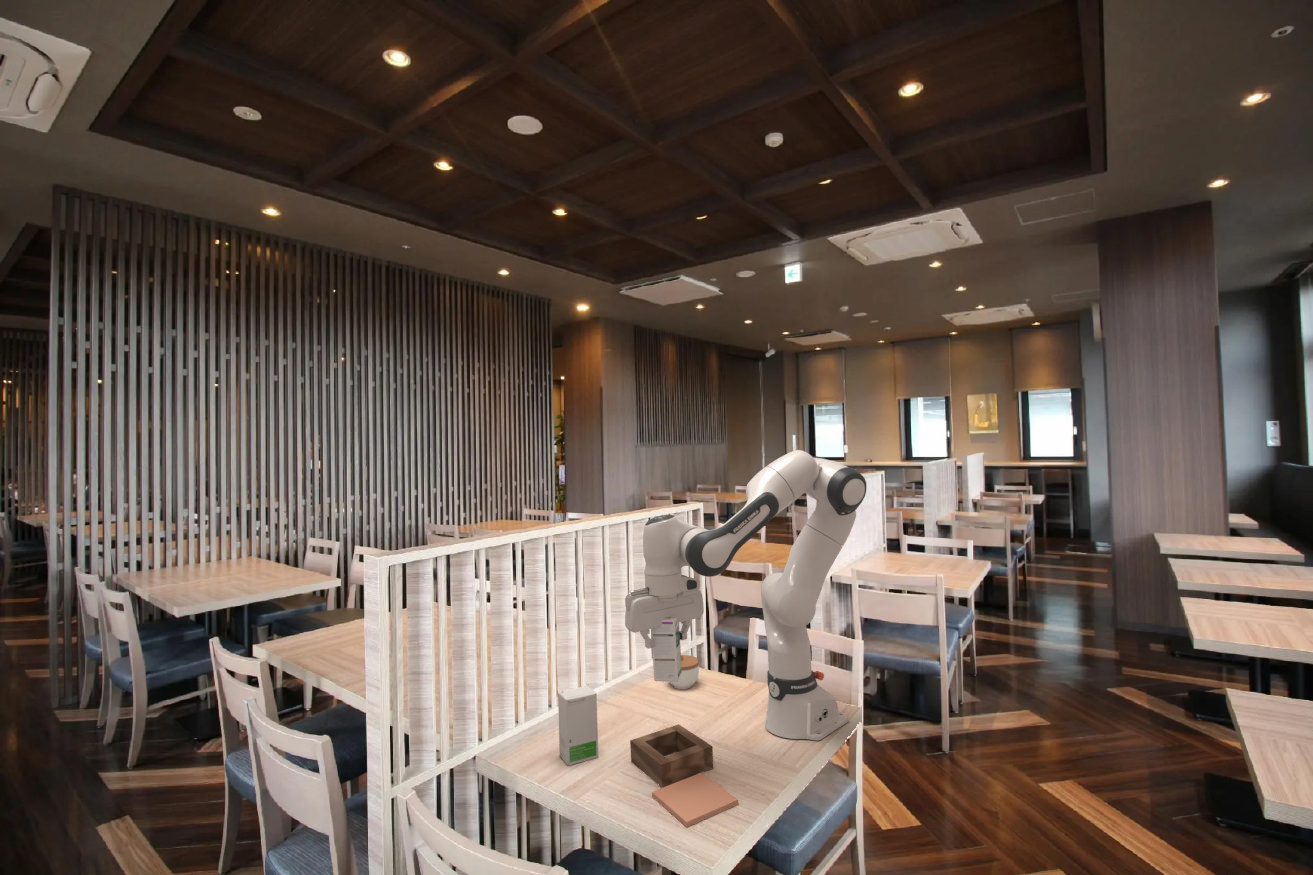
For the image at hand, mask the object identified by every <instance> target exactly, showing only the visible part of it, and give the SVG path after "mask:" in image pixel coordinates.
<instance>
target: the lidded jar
mask: <svg viewBox="0 0 1313 875" xmlns="http://www.w3.org/2000/svg"><path fill="white" fill-rule="evenodd" d="M699 662H700V661H699V659H698V658H697V657H695V656H692V655H688V654H687V655H686V654H685V655H684V654H681V669H682V673H681V675H680V677H679V679H678V682H669V683H670V685H672V686H674V687H673V688H674V689H677V690H689V689H690V688H692V687H693V685H694V684H695V683H696V682H697V680H698V677H699V673H700V672H699V670H700V668H699V667H700V666H699V664H700V663H699Z"/></svg>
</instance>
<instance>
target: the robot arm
mask: <svg viewBox="0 0 1313 875" xmlns="http://www.w3.org/2000/svg"><path fill="white" fill-rule="evenodd" d="M746 484H747V485H746V488H745V496H746V502H745V504H744V506H743V507H742V508H741V509H740V510H739V511H737V512H736V513H735V514H734V515H733V516H731V517H730V518H729V519H728V520H727V521H726V522H725V523H724V524H722V525H721V526H719V527H717V528H715V529H714V528H713V529H707V528H705V527H702V526H697V525H695V524H690V523H689V522H686V521H684V520H682V519H680V518H678V517H677V516H675V515H674V514H664V515H659V516H658V515H657V516H655V517H654V516H653V517H652V518H650V519H649V520H647V522H645V523H644V524H645V525H644V528H643V534H642V536H643V537H642V549H643V550H642V551H643V558H644V562H645V567H644V571H643V572H644V573H643V574H644V575H643V576H644V587H643V588H642V587H641V588H639V589H633V590H630V591H629V592H628V593H627V595H626V596H625V598H624V604H625V615H624V626H625V628H626V629H627V630H628V631H630V632H632V633H639V634H640V635H641V637H642V638H643V640H644V647H645V648H646V649H653V647H654V640H653V639H652V638H650V636H649V634H650V633H651V632H650V630H652V629H653V628H657V627H661V626H662V620H663V618H668V617H676V618H677V623H679V624H680V623H681V629H680V630H679V632H680V641H684V640H687V639H688V631H689V629H690V626H691V624H692V622H691V621H692V620H696V619H701V618H702V616H703V614H704V599H703V593H702V591H701V590H700V588H701V581H700V580H699V579H697V578H694V577H691V576H687V575H685V574H684V575H683V574H682V572H683V571H682V569H683V567H690V568H691V569H692V570H693V571H694V572H695V573H696V574H698V575H699V576H702V577H707V578H709V577H710V578H711V577H715V576H718V575H721V574H722V573H723V572H725V571H726V570H727V569H728V567H729V566H730V564H731V563H732V561H733V559H734V557H735V555H736V554H737V552H738V551H739V550H740V549H741V547H743V546H744V545H745V544H746V543H747V542H749V540H751V538H753V537H754V536H755V535H756V534H757V533H758V532H760V530H762V529H763V528H764V527H765V526H766V525H768V523H770V521H772V519H774V518H775V517H776V516H777V515H778V514H779V513H781V512H782V511H783V510H785V509H786V508H787V507H789V506H790V505H792V504H793V503H794V502H796V500H797V499H799V498H800V497H801V496H803V494H805V495H807V496H809V497H810V498H812V499H814V500H816V501H815V502H816V503H815V508H814V511H813V512H812V513H811V515H810V517H809V518H808V519H807V521H806V523H805V525H804V526H803V528H802V529H801V530H800V533H799V534H798V536H797V538H796V540H794V542H793V544H792V545H791V548H790V549H789V550H790V551H789V555H788V559H787V561H786V564H785V567H784V569H783V572H773V573H770V574H768V575H767V576H766V577H765V578H764V579H763V581H762V582H761V586H760V594H761V604H762V613H763V614H762V615H763V622H764V628H765V634H766V636H765V637H766V642H767V644H766V645H767V660H768V661H767V663H768V665H767V666H768V670H767V671H766V672H767V674H766V675H767V676H766V678H767V681H766V682H767V687H768V699H767V700H768V701H767V710H766V718H765V722H764V727H765V729H766V730H767V731H768V732H769V733H771V734H772V735H775V736H778V737H780V738H786V739H791V740H810V741H821V740H822V739H824V738H825V737H827V736H828V735H830V734H831V733H834V732H835V731H836V730H838V729H839V728H841V727H842V726H844V725H845V724H847V723H849V719H848V716H847V715H846V714H845V713H844V712H843V711H841V710H839V708H838V702H837V700H836V697H835V696H834V695H833V694H832V693H831V692H829V691H827V690H826V689H825V688H823V687H822V686H821V685H819V684H818V681H823V680H824V678H825V674H824V672H820V671H818V670H815V671H814V670H812V654H811V641H810V638H809V634H808V630H807V629H808V628H807V625H809V624H811V622H812V621H813V620H814V617H815V614H816V611H817V610H816V608H817V603H818V601H819V598H820V595H821V593H822V590H823V587H824V583H825V581H826V578H827V576H828V573H829V571H830V570H831V568H832V566H833V565H834V563H835V561H836V559H837V557H838V555H839V554H840V552H841V551H842V549H843V547H844V546H845V543H846V542H847V540H848V539H849V537H850V533H851V532H852V529H853V527H854V524H855V522H856V519H857V518H856V517H857V511H856V510H857V509H858V508H859V506H861V504H862V503H863V501H864V499H865V496H866V495H867V480H866V478H865V476H863V475H862V474H861V473H860V472H859V471H858V470H856V469H855V468H853V467H850V466H849V467H848V466H847V465H845V464H844V463H841V462H838V461H836V460H830V459H826V458H822V457H821V456H816V455H811V454H810V453H809V452H807V451H804V450H801V449H795V450H792V451H790V452H788V453H786V454H784V455H782V456H780V457H779V458H778V457H777V459H775V460H773V461H772V462H770V463H769V464H767V465H766V466H765V467H764V468H762V469H761V470H760V471H758V472H757V473H756V474H755V475H754V476H753V477H752V478H751V479H750V480H749V482H748V483H746ZM817 680H818V681H817Z"/></svg>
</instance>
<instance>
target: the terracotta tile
mask: <svg viewBox="0 0 1313 875" xmlns="http://www.w3.org/2000/svg"><path fill="white" fill-rule="evenodd" d="M651 797H652V798H653V799H654V800H656V801H657V802H658V804H659V805H661V806H662V807H663V808H664V809H666V810H667V811H668V812H669V813H670V814H671V815H672V816H674V818H676V819H677V820H678V821H679V822H680V823H681V824H682V825H683V826H685V828H688V827H690V826H692V825H695V824H697V823H700V822H702V821H704V820H706V819H709V818H711V817H713V816H716V815H718V814H720V813H723V812H724V811H727V810H729V809H731V808H733V807H736V806H738V805H739V798H737V797H735V796H734V795H733V794H731V793H730V792H729V791H728V790H726V789H724V788H723V787H722V786H721V785H719V784H718V783H716V781H713V780H712V779H711V778H709V776H707V775H705V774H704V773H703V772H702V773H699V774H696V775H694V776H691V777H689V778H686V779H684V780H681V781H678V782H676V783H673V784H671V785H668V786H666V787H663V788H662V787H660V788H659V789H655V790H653V791H652V792H651Z"/></svg>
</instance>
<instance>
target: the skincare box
mask: <svg viewBox="0 0 1313 875" xmlns="http://www.w3.org/2000/svg"><path fill="white" fill-rule="evenodd" d="M557 699H558V700H557V701H558V702H557V703H558V707H557V708H558V740H559V741H558V742H559V744H558V746H559V756H560V757H561V758H562V760H563V762H564V763H565V764H566V765H567V766H571V765H572V766H573V765H575V764H579V763H582V762H586V761H590V760H594V759H598V758H599V732H598V731H599V730H598V704H597V703H598V701H597V692H595V691H594V689H592V688H591V687H590V686H588V685H586V686H581V687H573V688H570V689H564V690H559V691H558V692H557Z"/></svg>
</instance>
